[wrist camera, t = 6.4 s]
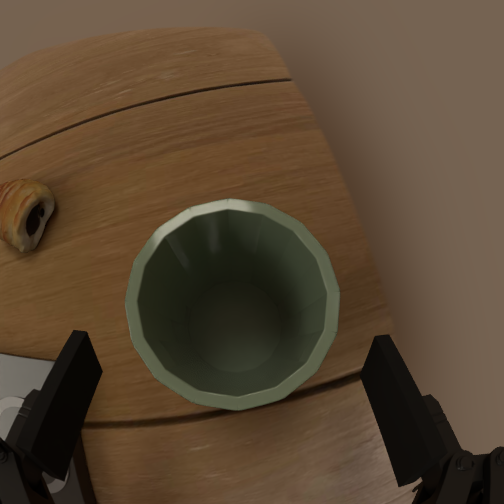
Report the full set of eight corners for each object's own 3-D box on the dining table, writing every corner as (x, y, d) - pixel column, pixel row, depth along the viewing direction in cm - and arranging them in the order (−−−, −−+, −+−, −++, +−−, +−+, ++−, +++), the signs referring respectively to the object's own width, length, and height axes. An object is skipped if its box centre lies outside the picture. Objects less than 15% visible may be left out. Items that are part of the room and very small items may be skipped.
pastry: (-13, 230, 22) (-33, 215, 19) (16, 177, 25) (-1, 159, 21) (34, 260, 22) (10, 245, 18) (66, 197, 24) (47, 176, 20)
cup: (303, 309, 22) (370, 261, 10) (253, 395, 20) (272, 445, 8) (218, 260, 23) (201, 168, 11) (165, 342, 21) (89, 329, 9)
